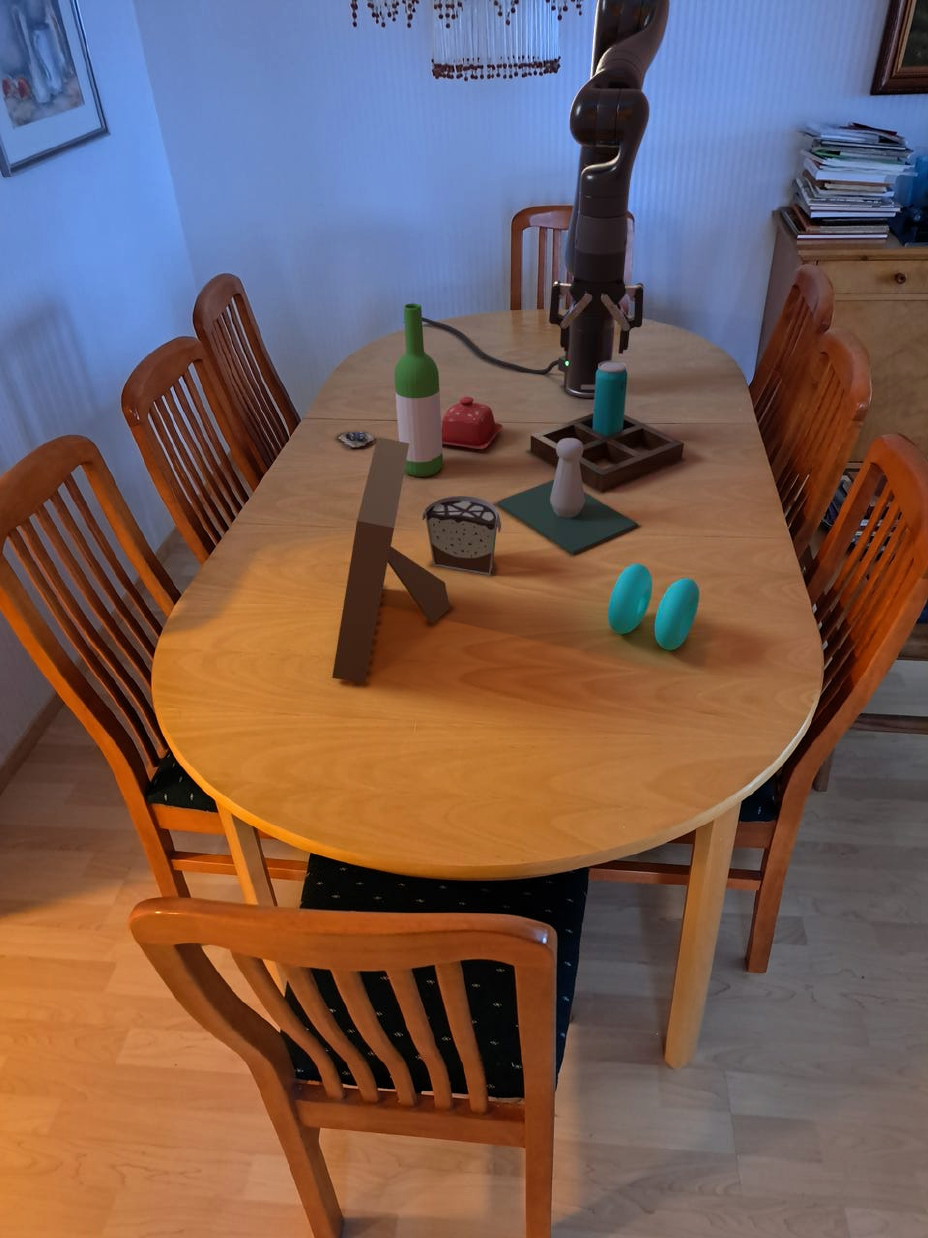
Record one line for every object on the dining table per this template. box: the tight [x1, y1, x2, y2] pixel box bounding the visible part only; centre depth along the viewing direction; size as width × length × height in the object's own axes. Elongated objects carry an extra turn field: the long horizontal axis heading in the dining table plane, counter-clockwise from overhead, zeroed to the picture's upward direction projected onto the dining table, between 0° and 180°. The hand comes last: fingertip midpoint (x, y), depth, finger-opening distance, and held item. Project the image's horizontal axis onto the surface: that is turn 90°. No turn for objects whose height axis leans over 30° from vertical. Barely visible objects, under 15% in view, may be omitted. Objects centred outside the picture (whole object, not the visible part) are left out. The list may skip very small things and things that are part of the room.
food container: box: [421, 495, 502, 576], centre depth 139 cm, size 12×6×10 cm, turn 71°
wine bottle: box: [393, 302, 444, 478], centre depth 157 cm, size 8×8×30 cm
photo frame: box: [331, 436, 451, 684], centre depth 120 cm, size 15×22×25 cm
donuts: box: [607, 563, 700, 651], centre depth 122 cm, size 10×10×10 cm
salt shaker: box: [550, 438, 585, 518], centre depth 148 cm, size 6×6×13 cm
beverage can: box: [592, 360, 628, 436], centre depth 169 cm, size 6×6×15 cm
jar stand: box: [530, 412, 685, 493], centre depth 168 cm, size 20×20×4 cm
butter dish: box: [441, 396, 503, 450], centre depth 173 cm, size 12×12×8 cm
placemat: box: [496, 479, 639, 555], centre depth 152 cm, size 20×14×1 cm
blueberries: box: [338, 430, 376, 448], centre depth 176 cm, size 7×8×2 cm
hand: (593, 350), depth 142 cm, fingers open, 8 cm apart
